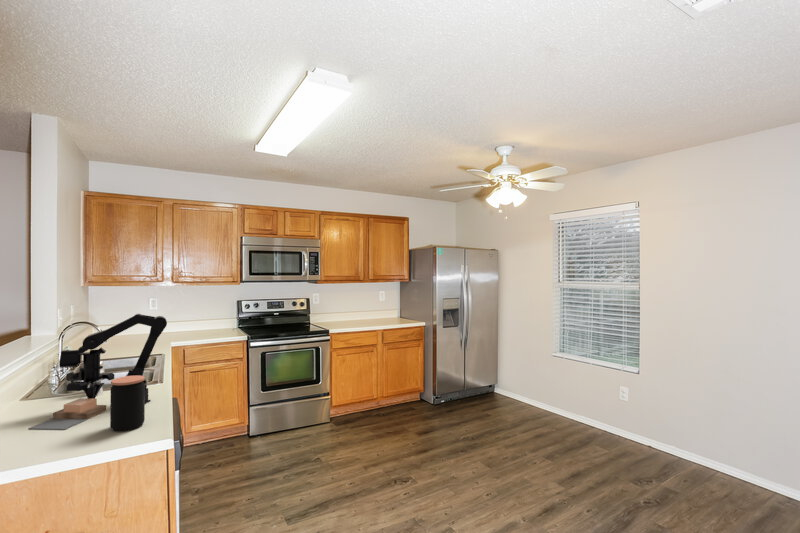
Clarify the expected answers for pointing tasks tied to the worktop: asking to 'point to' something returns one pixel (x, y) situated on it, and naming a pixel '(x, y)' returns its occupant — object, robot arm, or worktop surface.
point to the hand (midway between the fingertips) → (91, 401)
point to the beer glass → (101, 380)
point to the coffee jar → (127, 403)
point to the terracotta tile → (80, 405)
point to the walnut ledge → (83, 415)
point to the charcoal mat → (57, 424)
